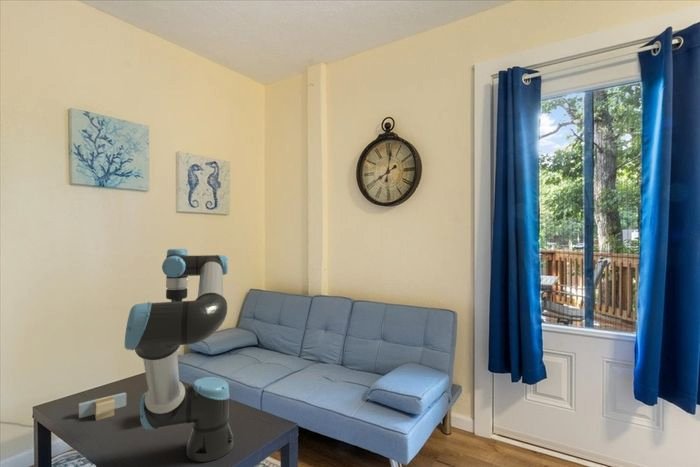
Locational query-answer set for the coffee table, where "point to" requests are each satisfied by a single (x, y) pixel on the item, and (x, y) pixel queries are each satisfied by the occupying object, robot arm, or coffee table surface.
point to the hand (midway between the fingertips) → (175, 348)
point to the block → (104, 407)
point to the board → (89, 406)
